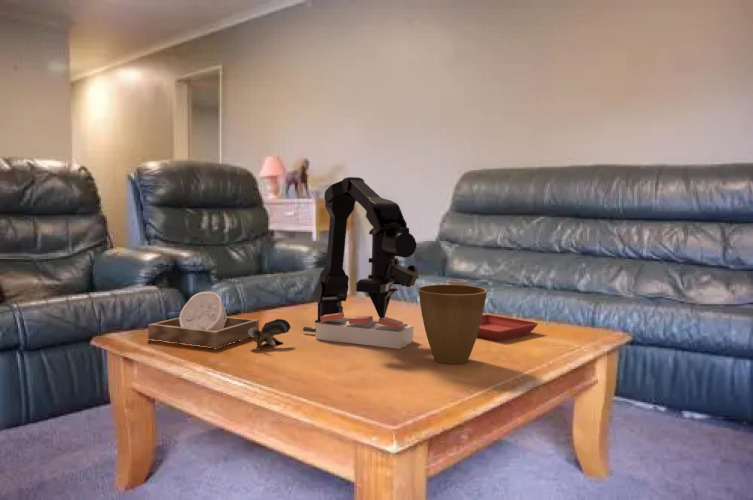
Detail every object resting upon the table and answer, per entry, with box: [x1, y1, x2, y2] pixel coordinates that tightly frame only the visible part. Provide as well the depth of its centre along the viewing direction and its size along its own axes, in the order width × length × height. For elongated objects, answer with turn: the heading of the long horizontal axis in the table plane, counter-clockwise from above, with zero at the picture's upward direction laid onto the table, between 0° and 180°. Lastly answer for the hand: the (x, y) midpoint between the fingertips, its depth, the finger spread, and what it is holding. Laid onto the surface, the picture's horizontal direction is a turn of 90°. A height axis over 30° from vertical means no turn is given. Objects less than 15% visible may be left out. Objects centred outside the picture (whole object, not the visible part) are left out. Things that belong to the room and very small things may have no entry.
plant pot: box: [417, 283, 488, 365], centre depth 129 cm, size 15×15×16 cm
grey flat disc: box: [178, 291, 228, 331], centre depth 149 cm, size 10×14×12 cm
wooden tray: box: [147, 316, 260, 349], centre depth 148 cm, size 20×17×4 cm
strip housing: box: [302, 317, 414, 350], centre depth 150 cm, size 29×9×4 cm, turn 67°
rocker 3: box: [377, 316, 404, 329], centre depth 143 cm, size 5×4×1 cm
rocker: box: [349, 315, 374, 324], centre depth 146 cm, size 5×4×1 cm
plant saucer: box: [477, 314, 539, 341], centre depth 161 cm, size 18×18×3 cm
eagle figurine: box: [248, 318, 292, 350], centre depth 140 cm, size 8×7×9 cm
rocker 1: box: [320, 311, 345, 322], centre depth 149 cm, size 5×4×1 cm
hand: (381, 317), depth 144 cm, fingers closed, pressing on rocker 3
